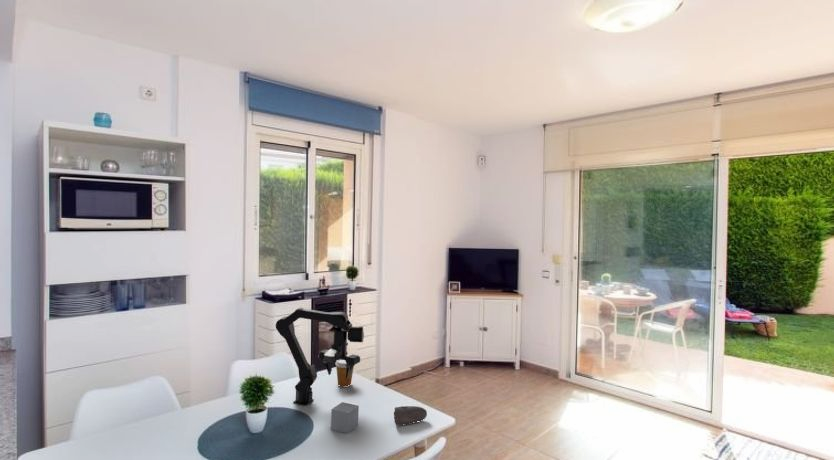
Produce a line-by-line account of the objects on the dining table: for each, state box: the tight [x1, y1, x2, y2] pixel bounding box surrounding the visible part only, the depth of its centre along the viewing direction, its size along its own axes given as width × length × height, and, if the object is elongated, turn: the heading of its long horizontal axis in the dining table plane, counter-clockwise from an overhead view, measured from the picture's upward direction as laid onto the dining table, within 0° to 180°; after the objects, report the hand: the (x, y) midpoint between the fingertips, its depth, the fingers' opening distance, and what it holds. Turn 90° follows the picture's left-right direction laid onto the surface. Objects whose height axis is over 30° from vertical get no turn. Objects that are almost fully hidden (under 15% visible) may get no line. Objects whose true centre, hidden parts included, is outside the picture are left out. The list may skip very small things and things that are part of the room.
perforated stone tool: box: [393, 405, 428, 426], centre depth 172 cm, size 15×5×7 cm, turn 112°
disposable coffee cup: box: [334, 359, 354, 387], centre depth 211 cm, size 10×10×12 cm
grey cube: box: [330, 401, 360, 434], centre depth 166 cm, size 8×8×8 cm
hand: (338, 376), depth 188 cm, fingers open, 9 cm apart
